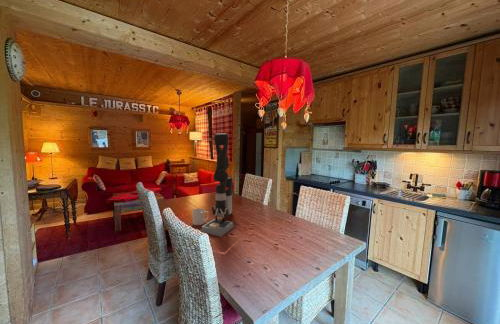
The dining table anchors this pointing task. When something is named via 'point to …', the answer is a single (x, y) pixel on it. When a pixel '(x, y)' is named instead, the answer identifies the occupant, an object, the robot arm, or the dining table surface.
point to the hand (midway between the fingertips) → (220, 221)
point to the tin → (220, 218)
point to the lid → (214, 224)
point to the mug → (199, 216)
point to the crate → (222, 229)
